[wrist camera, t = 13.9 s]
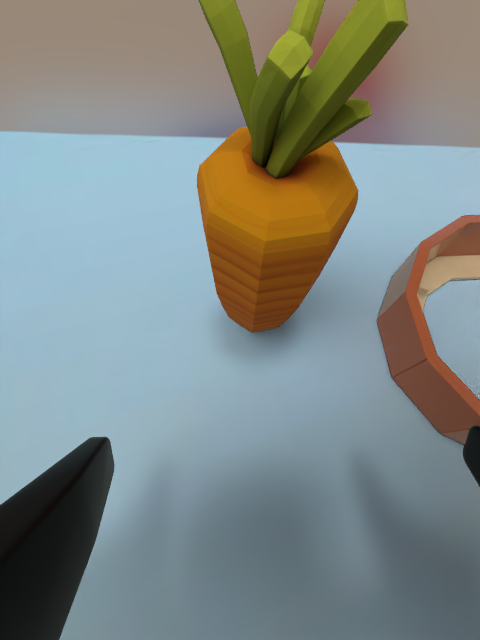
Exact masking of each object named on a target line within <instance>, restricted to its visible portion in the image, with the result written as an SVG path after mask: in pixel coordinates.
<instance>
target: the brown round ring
mask: <svg viewBox="0 0 480 640" xmlns="http://www.w3.org/2000/svg"><path fill="white" fill-rule="evenodd" d="M470 279H480V215H465V216H461V217H460V218H458V219H457V220H455V221H454V222H452V223H450V224H449V225H447V226H446V227H444V228H443V229H441V230H439V231H438V232H436V233H435V234H433V235H431V236H430V237H428V238H427V239H425V240H424V241H422V242H421V243H420V244H419V245H418V246H417V248H416V249H415V250H414V251H413V252H412V253H411V255H410V256H409V257H408V258H407V259H406V260H405V262H404V263H403V264H402V265H401V266H400V267H399V269H398V270H397V271H396V272H395V273H394V274H393V276H392V278H391V280H390V283H389V286H388V289H387V292H386V295H385V298H384V301H383V304H382V307H381V310H380V312H379V315H378V318H377V323H378V327H379V331H380V334H381V338H382V342H383V346H384V349H385V353H386V357H387V361H388V365H389V368H390V372H391V376H392V377H393V379H394V381H395V382H396V383H397V384H398V385H399V386H400V388H401V389H402V390H403V391H404V392H405V393H406V395H407V396H408V397H409V398H410V399H411V400H412V401H413V403H414V404H415V405H416V406H417V407H418V408H419V410H420V411H421V412H422V413H423V414H424V415H425V416H426V418H427V419H428V420H429V421H430V422H431V423H432V425H433V426H434V427H435V428H436V429H437V430H438V431H439V432H440V433H441V434H443V435H445V436H447V437H449V438H451V439H453V440H455V441H457V442H460V443H462V444H464V445H465V442H466V439H467V435H468V432H469V429H470V428H471V427H472V426H475V425H480V400H479V399H478V398H477V397H476V396H475V395H474V394H473V392H472V391H471V390H470V389H469V388H468V387H467V386H466V385H465V384H464V383H463V382H462V381H461V380H460V379H459V378H458V377H457V376H456V375H455V374H454V372H453V371H452V370H451V369H450V368H449V367H448V366H447V365H446V364H445V363H444V362H443V361H442V360H441V359H440V358H439V357H438V356H437V353H436V350H435V347H434V344H433V341H432V338H431V335H430V332H429V329H428V326H427V323H426V320H425V317H424V314H423V309H424V305H425V301H426V298H427V296H428V295H429V294H431V293H432V292H434V291H435V290H437V289H438V288H439V287H441V286H442V285H444V284H445V283H447V282H448V281H449V280H470Z"/></svg>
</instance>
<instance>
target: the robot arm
mask: <svg viewBox="0 0 480 640" xmlns="http://www.w3.org/2000/svg"><path fill="white" fill-rule="evenodd" d="M463 458H464V460H465V463H466V464H467V466H468V468H469V469H470V471H471V473H472V474H473V476H474V478H475V480H476V481H477V483H478V485H479V486H480V425H475V426H472V427H471V428H470V429H469V432H468V435H467V439H466V442H465V445H464V449H463ZM113 473H114V460H113V454H112V449H111V444H110V440H109V438H107V437H92V438H89V439H88V440H86V441H85V442H84V443H82V444H81V445H80V446H78V447H77V448H76V449H74V450H73V451H72V452H70V453H69V454H68V455H66V456H65V457H64V458H62V459H61V460H60V461H58V462H57V463H56V464H54V465H53V466H52V467H50V468H49V469H48V470H46V471H45V472H44V473H42V474H41V475H40V476H38V477H37V478H36V479H34V480H33V481H32V482H30V483H29V484H28V485H26V486H25V487H24V488H22V489H21V490H20V491H18V492H17V493H16V494H14V495H13V496H12V497H10V498H9V499H8V500H6V501H5V502H4V503H3V504H1V505H0V640H59V638H60V636H61V633H62V630H63V627H64V625H65V622H66V619H67V617H68V614H69V611H70V609H71V606H72V603H73V601H74V598H75V595H76V592H77V590H78V587H79V584H80V582H81V579H82V576H83V574H84V571H85V568H86V566H87V563H88V560H89V557H90V555H91V552H92V549H93V546H94V543H95V540H96V537H97V534H98V530H99V526H100V523H101V519H102V515H103V511H104V507H105V504H106V500H107V496H108V492H109V488H110V485H111V481H112V477H113Z"/></svg>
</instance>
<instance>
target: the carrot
mask: <svg viewBox="0 0 480 640" xmlns="http://www.w3.org/2000/svg"><path fill="white" fill-rule="evenodd" d="M199 2H200V5H201V7H202V10H203V12H204V15H205V18H206V20H207V22H208V24H209V27H210V29H211V31H212V33H213V35H214V37H215V39H216V42H217V44H218V46H219V48H220V50H221V53H222V56H223V59H224V62H225V65H226V68H227V70H228V73H229V76H230V79H231V81H232V84H233V87H234V90H235V93H236V95H237V98H238V101H239V104H240V107H241V110H242V112H243V115H244V118H245V121H246V124H247V127H242V128H239V129H238V130H236V131H235V132H233V133H232V134H231V136H229V137H228V138H227V139H226V140H225V141H224V142H223V143H222V144H221V145H220V146H219V147H218V148H217V149H216V150H215V151H214V152H213V153H212V154H211V155H210V156H209V157H208V158H207V159H206V160H205V161H204V162H203V163H202V164H201V165H200V166H199V170H198V174H197V188H198V195H199V201H200V207H201V214H202V220H203V226H204V232H205V237H206V242H207V247H208V252H209V257H210V262H211V267H212V272H213V277H214V282H215V287H216V292H217V295H218V297H219V299H220V301H221V304H222V306H223V308H224V309H225V311H226V313H227V315H228V316H229V318H231V319H232V320H233V321H235V322H236V323H237V324H239V325H241V326H242V327H244V328H245V329H247V330H249V331H250V332H252V333H254V332H259V331H265V330H270V329H273V328H276V327H279V326H281V325H282V324H283V323H284V322H285V321H286V320H287V319H288V318H289V317H290V316H291V315H292V314H293V313H294V312H295V311H296V309H297V308H298V307H299V305H300V304H301V302H302V301H303V299H304V298H305V296H306V295H307V293H308V292H309V290H310V289H311V287H312V286H313V284H314V283H315V281H316V279H317V278H318V276H319V275H320V273H321V271H322V270H323V268H324V266H325V264H326V263H327V261H328V259H329V257H330V256H331V254H332V252H333V250H334V249H335V247H336V245H337V243H338V241H339V239H340V237H341V235H342V233H343V232H344V230H345V228H346V226H347V224H348V222H349V220H350V218H351V216H352V214H353V212H354V210H355V207H356V204H357V200H358V189H357V187H356V185H355V183H354V181H353V179H352V176H351V174H350V172H349V170H348V168H347V166H346V164H345V162H344V160H343V158H342V156H341V154H340V151H339V149H338V148H337V146H336V145H335V144H334V143H333V142H332V141H331V140H333V139H334V138H336V137H337V136H339V135H340V134H342V133H344V132H345V131H347V130H349V129H350V128H352V127H353V126H355V125H356V124H358V123H360V122H361V121H363V120H364V119H366V118H368V117H369V116H371V115H372V111H371V107H370V104H369V101H365V100H361V99H357V98H351V99H350V100H348V98H349V97H350V96H351V95H352V94H353V93H354V91H355V90H356V89H357V88H358V87H359V85H360V84H361V83H362V82H363V81H364V80H365V78H366V77H367V76H368V75H369V74H370V73H371V71H372V70H373V69H374V68H375V67H376V66H377V64H378V63H379V61H380V60H381V59H382V58H383V56H384V55H385V54H386V53H387V51H388V50H389V49H390V47H391V46H392V45H393V44H394V42H395V41H396V40H397V38H398V37H399V36H400V35H401V33H402V32H403V31H404V30H405V28H406V27H407V26H408V18H407V11H406V3H405V0H358V1H357V3H356V4H355V6H354V7H353V8H352V10H351V12H350V13H349V14H348V16H347V17H346V19H345V20H344V22H343V23H342V25H341V26H340V28H339V29H338V30H337V32H336V33H335V35H334V36H333V38H332V40H331V41H330V43H329V44H328V46H327V47H326V49H325V51H324V52H323V54H322V56H321V57H320V59H319V61H318V62H317V64H316V66H315V67H314V69H313V70H311V69H310V68H309V66H308V65H307V64H308V62H309V60H310V58H311V57H312V55H313V51H312V49H311V48H310V46H311V43H312V40H313V37H314V34H315V31H316V28H317V25H318V22H319V19H320V16H321V13H322V9H323V6H324V2H325V0H298V2H297V5H296V7H295V10H294V12H293V15H292V19H291V22H290V25H289V29H288V32H287V33H286V34H284V35H283V36H282V37H281V38H280V39H279V40H278V41H277V43H276V44H275V46H274V47H273V49H272V50H271V52H270V54H269V55H268V57H267V59H266V61H265V63H264V66H263V68H262V70H261V72H260V74H259V76H258V78H257V74H256V69H255V65H254V60H253V56H252V52H251V47H250V42H249V38H248V34H247V30H246V28H245V25H244V22H243V20H242V17H241V14H240V12H239V9H238V7H237V4H236V1H235V0H199ZM347 100H348V101H347Z"/></svg>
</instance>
